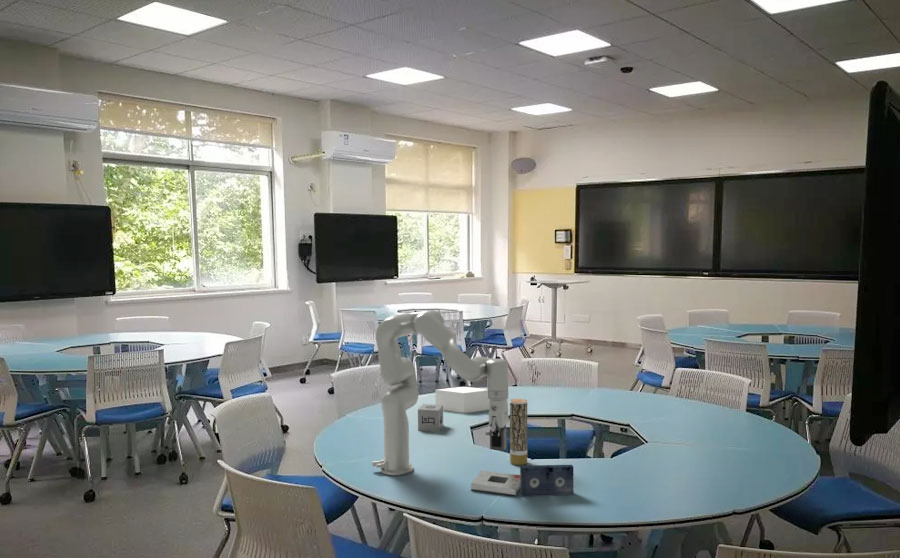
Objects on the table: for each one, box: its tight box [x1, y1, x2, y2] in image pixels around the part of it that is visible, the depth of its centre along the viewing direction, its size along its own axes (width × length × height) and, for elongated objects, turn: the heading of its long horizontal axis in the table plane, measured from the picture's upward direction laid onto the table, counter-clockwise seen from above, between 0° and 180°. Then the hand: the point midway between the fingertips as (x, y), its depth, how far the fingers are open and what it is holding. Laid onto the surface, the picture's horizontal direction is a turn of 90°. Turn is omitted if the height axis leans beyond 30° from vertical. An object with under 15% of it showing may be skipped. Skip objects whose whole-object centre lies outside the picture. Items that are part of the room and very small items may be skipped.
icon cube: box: [417, 403, 444, 432], centre depth 284 cm, size 10×10×10 cm
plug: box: [485, 427, 508, 451], centre depth 213 cm, size 7×4×7 cm, turn 70°
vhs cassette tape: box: [519, 464, 575, 497], centre depth 206 cm, size 18×3×10 cm, turn 92°
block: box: [435, 386, 490, 414], centre depth 317 cm, size 15×30×11 cm, turn 88°
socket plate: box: [470, 470, 520, 497], centre depth 213 cm, size 16×13×3 cm
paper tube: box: [509, 398, 528, 466], centre depth 236 cm, size 7×7×25 cm
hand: (498, 444), depth 213 cm, fingers closed on plug, 4 cm apart
